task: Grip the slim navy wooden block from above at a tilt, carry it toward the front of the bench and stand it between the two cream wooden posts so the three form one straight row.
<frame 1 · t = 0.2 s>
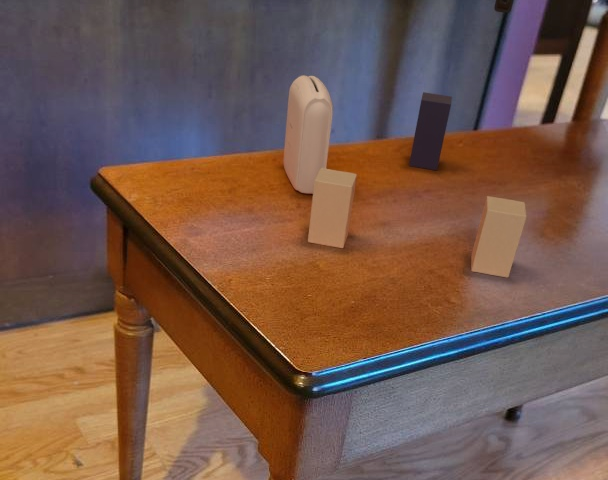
hand: (503, 8, 101), 19 cm above the table, tool pointing down, fingers open, 8 cm apart
navy block: (423, 163, 106), on the table
post 2: (489, 266, 81), on the table
photo printer: (302, 181, 96), on the table
post 1: (328, 238, 83), on the table
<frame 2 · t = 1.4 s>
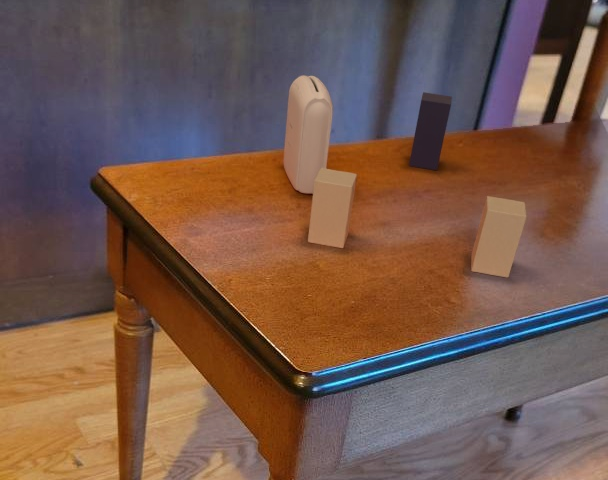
nothing on the table moved.
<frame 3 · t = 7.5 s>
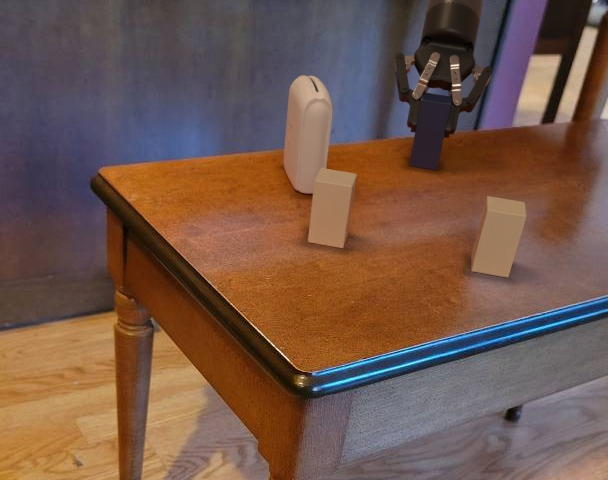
hand: (430, 131, 101), 5 cm above the table, tool tilted 45°, fingers closed on navy block, 4 cm apart
navy block: (423, 163, 106), on the table, touching gripper
everything else where it was.
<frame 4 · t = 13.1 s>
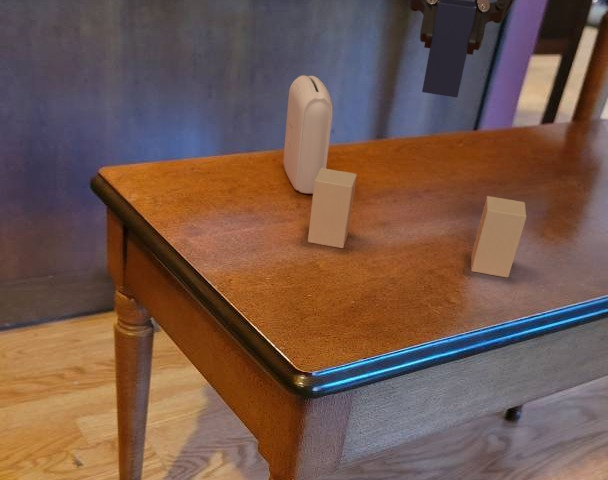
hand: (449, 46, 80), 19 cm above the table, tool tilted 45°, fingers closed on navy block, 4 cm apart
navy block: (440, 90, 85), point 14 cm above the table, touching gripper
everything else where it was.
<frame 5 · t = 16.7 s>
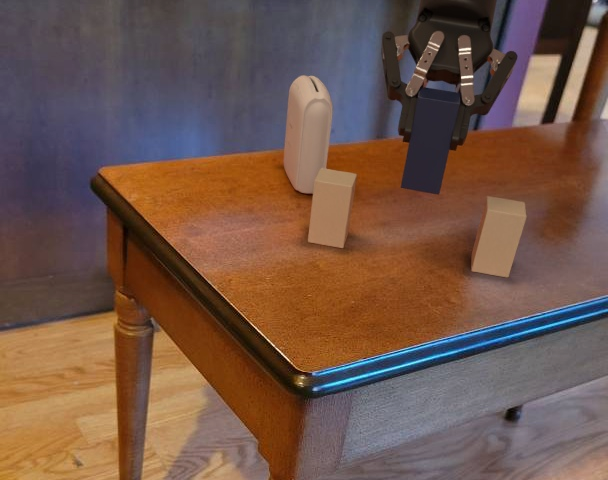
hand: (430, 141, 73), 13 cm above the table, tool tilted 45°, fingers closed on navy block, 4 cm apart
navy block: (420, 184, 77), point 8 cm above the table, touching gripper
everything else where it was.
when the fingers open (5 cm above the table, at t = 19.2 s): navy block stays where it is, on the table.
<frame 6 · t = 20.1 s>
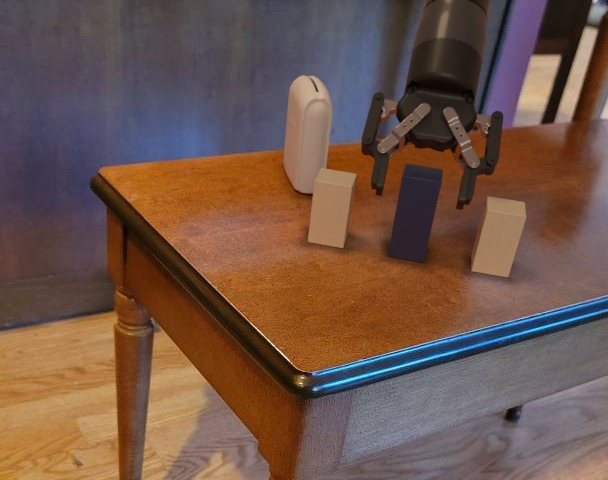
hand: (419, 199, 77), 7 cm above the table, tool tilted 45°, fingers open, 8 cm apart
navy block: (406, 252, 82), on the table
everything else where it was.
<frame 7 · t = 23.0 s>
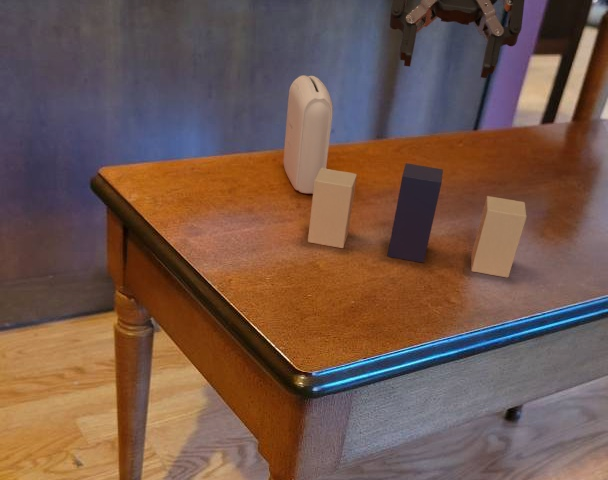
hand: (446, 68, 81), 17 cm above the table, tool tilted 45°, fingers open, 8 cm apart
nothing on the table moved.
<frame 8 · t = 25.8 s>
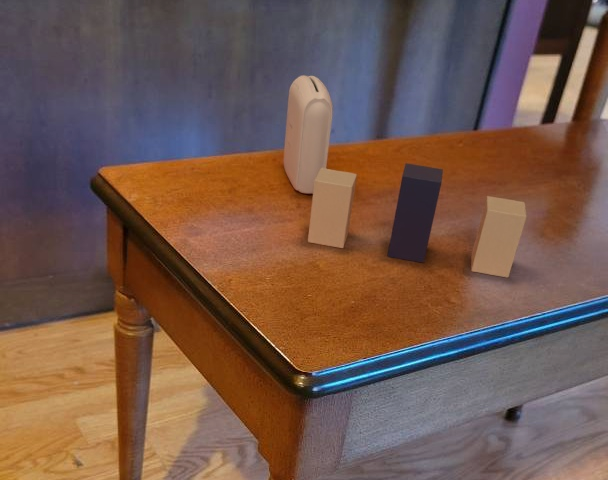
nothing on the table moved.
at the end: navy block 0.1 cm from the target spot on the table beside the post 2, on the table; navy block 8.9 cm from the post 1 (horizontally); navy block tilted 0° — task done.
